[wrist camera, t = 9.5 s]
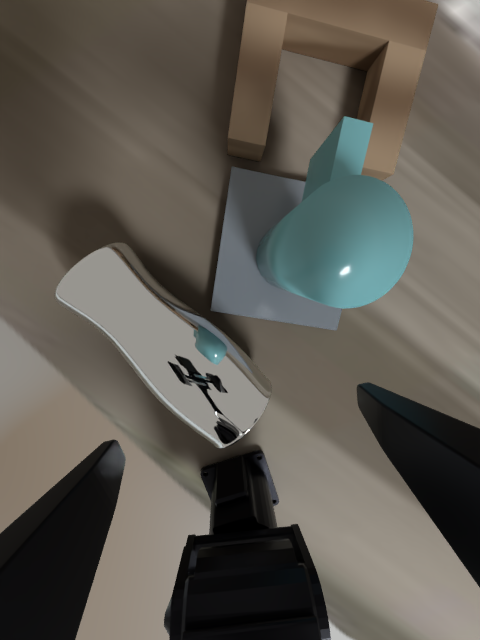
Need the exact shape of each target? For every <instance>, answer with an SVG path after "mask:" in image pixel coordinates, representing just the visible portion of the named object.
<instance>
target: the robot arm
mask: <svg viewBox="0 0 480 640" xmlns="http://www.w3.org/2000/svg"><path fill="white" fill-rule="evenodd" d="M357 400H358V406H359V409H360V411H361V413H362V414H363V416H364V418H365V420H366V421H367V423H368V425H369V427H370V428H371V430H372V432H373V434H374V436H375V437H376V439H377V441H378V443H379V444H380V446H381V448H382V449H383V451H384V452H385V454H386V455H387V457H388V458H389V460H390V461H391V462H392V464H393V465H394V467H395V468H396V469H397V471H398V472H399V474H400V475H401V477H402V478H403V479H404V481H405V482H406V484H407V485H408V486H409V488H410V489H411V491H412V492H413V494H414V495H415V496H416V498H417V499H418V501H419V502H420V504H421V505H422V506H423V508H424V509H425V511H426V512H427V513H428V515H429V516H430V518H431V519H432V521H433V522H434V523H435V525H436V526H437V528H438V529H439V530H440V532H441V533H442V535H443V536H444V538H445V539H446V540H447V542H448V543H449V545H450V546H451V547H452V549H453V550H454V552H455V553H456V555H457V556H458V557H459V559H460V560H461V562H462V563H463V564H464V566H465V567H466V569H467V570H468V572H469V573H470V574H471V576H472V577H473V579H474V580H475V582H476V583H477V584H478V586H479V587H480V429H479V428H477V427H475V426H472V425H470V424H467V423H465V422H463V421H460V420H458V419H455V418H453V417H451V416H448V415H446V414H443V413H441V412H439V411H436V410H434V409H432V408H429V407H427V406H424V405H422V404H420V403H417V402H415V401H412V400H410V399H408V398H405V397H403V396H400V395H398V394H396V393H393V392H391V391H389V390H386V389H384V388H381V387H379V386H377V385H374V384H372V383H369V382H367V383H363V384H359V385H357ZM257 456H260V457H257ZM124 466H125V455H124V453H123V451H122V449H121V447H120V445H119V443H118V441H116V440H110V441H106V442H103V443H102V444H101V445H100V446H99V447H98V448H97V449H95V450H94V451H93V452H92V453H91V454H90V455H89V456H87V457H86V458H85V459H84V460H83V461H82V462H81V463H80V464H78V465H77V466H76V467H75V468H74V469H73V470H72V471H70V472H69V473H68V474H67V475H66V476H65V477H64V478H63V479H61V480H60V481H59V482H58V483H57V484H56V485H55V486H53V487H52V488H51V489H50V490H49V491H48V492H47V493H46V494H44V495H43V496H42V497H41V498H40V499H39V500H38V501H37V502H35V504H33V505H32V506H31V507H30V508H29V509H28V510H26V511H25V512H24V513H23V514H22V515H21V516H20V517H18V518H17V519H16V520H15V521H14V522H13V523H12V524H10V525H9V526H8V527H7V528H6V529H5V530H4V531H3V532H2V533H1V534H0V640H75V638H76V635H77V632H78V628H79V625H80V622H81V619H82V615H83V612H84V609H85V606H86V603H87V599H88V596H89V592H90V590H91V586H92V583H93V580H94V576H95V573H96V570H97V566H98V564H99V560H100V557H101V554H102V551H103V547H104V544H105V541H106V538H107V534H108V531H109V528H110V525H111V521H112V518H113V515H114V511H115V507H116V503H117V499H118V494H119V490H120V485H121V480H122V476H123V470H124ZM204 472H207V473H204ZM201 478H202V480H203V483H204V485H205V487H206V490H207V492H208V495H209V497H210V500H211V514H210V529H209V530H210V531H209V535H200V536H196V535H188V538H187V543H186V546H185V547H184V549H183V553H182V557H181V561H180V565H179V570H178V573H177V578H176V581H175V586H174V590H173V594H172V597H171V600H170V602H169V605H168V607H167V610H166V612H165V619H164V627H165V628H166V630H167V632H168V634H169V636H170V640H331V637H330V629H329V622H328V616H327V610H326V605H325V601H324V596H323V592H322V588H321V584H320V581H319V578H318V574H317V571H316V569H315V566H314V563H313V561H312V558H311V556H310V553H309V551H308V548H307V546H306V543H305V541H304V538H303V536H302V533H301V531H300V528H299V526H298V524H293V525H291V526H288V527H277V522H276V517H275V513H274V508H273V506H275V505H277V504H278V503H279V499H278V495H277V492H276V489H275V486H274V483H273V480H272V477H271V474H270V471H269V468H268V465H267V462H266V459H265V456H264V453H263V452H262V451H260V450H259V451H255V452H251V453H248V454H245V455H242V456H238V457H235V458H232V459H229V460H225V461H222V462H219V463H216V464H212V465H209V466H206V467H203V468H202V469H201Z"/></svg>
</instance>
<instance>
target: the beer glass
mask: <svg viewBox="0 0 480 640" xmlns="http://www.w3.org/2000/svg"><path fill="white" fill-rule="evenodd" d="M54 297H55V300H56V302H57V303H58V304H59V305H61V306H62V307H63V308H65V309H67V310H68V311H70V312H71V313H73V314H75V315H76V316H78V317H80V318H81V319H83V320H84V321H86V322H87V323H89V324H90V325H92V326H93V327H95V328H96V329H97V330H98V331H99V332H101V333H102V334H103V335H104V336H105V337H106V338H107V339H108V340H109V341H110V342H111V343H112V344H113V345H114V346H115V347H116V349H117V350H118V351H119V352H120V354H121V355H122V356H123V357H124V359H125V360H126V361H127V362H128V364H129V365H130V366H131V368H132V369H133V370H134V371H135V373H136V374H137V375H138V377H139V378H140V379H141V380H142V382H143V383H144V384H145V385H146V387H147V388H148V389H149V390H150V391H151V392H152V393H153V395H154V396H155V397H156V398H157V399H158V400H159V401H160V402H161V403H162V404H163V405H164V406H165V407H166V408H167V409H168V410H169V411H170V412H171V413H172V414H174V415H175V416H176V417H177V418H178V419H180V420H181V421H182V422H183V423H185V424H186V425H187V426H189V427H190V428H191V429H193V430H194V431H195V432H197V433H198V434H199V435H201V436H202V437H204V438H205V439H207V440H208V441H209V442H211V443H212V444H213V445H214V446H215V447H217V448H225V447H228V446H230V445H232V444H234V443H236V442H237V441H238V440H240V439H241V438H242V437H243V436H244V435H245V434H247V433H248V432H249V430H250V429H251V428H252V427H253V426H254V425H255V424H256V422H257V421H258V420H259V418H260V417H261V415H262V414H263V412H264V410H265V408H266V406H267V404H268V402H269V400H270V396H271V392H272V384H271V382H270V380H269V379H268V378H267V377H266V376H265V375H264V374H263V373H262V372H261V370H260V369H259V368H258V367H257V366H256V364H255V363H254V362H253V361H252V360H251V359H250V358H249V356H248V355H247V354H246V353H245V352H244V351H243V350H242V349H241V348H240V347H239V346H238V345H237V344H236V343H235V342H234V341H233V340H232V339H231V338H230V337H229V336H228V335H227V334H226V333H224V332H223V331H222V330H221V329H219V328H218V327H217V326H216V325H214V324H213V323H212V322H210V321H209V320H208V319H206V318H205V317H203V316H202V315H201V314H199V313H198V312H196V311H195V310H193V309H192V308H191V307H189V306H188V305H186V304H185V303H183V302H182V301H180V300H179V299H178V298H176V297H175V296H174V295H172V294H171V293H170V292H168V291H167V290H166V289H165V288H164V287H163V286H162V285H160V284H159V283H158V282H157V281H156V280H155V278H154V277H153V276H152V275H151V274H150V273H149V272H148V270H147V269H146V268H145V266H144V265H143V264H142V262H141V261H140V259H139V258H138V257H137V255H136V254H135V252H134V251H133V250H132V249H131V248H130V246H129V245H127V244H125V243H122V242H116V243H111V244H108V245H105V246H103V247H100V248H98V249H97V250H95V251H93V252H91V253H90V254H88V255H87V256H85V257H84V258H83V259H81V260H80V261H79V262H77V263H76V264H75V265H74V266H73V267H72V268H71V269H70V270H69V271H68V272H67V273H66V274H65V275H64V276H63V278H62V279H61V280H60V282H59V284H58V285H57V287H56V290H55V295H54Z"/></svg>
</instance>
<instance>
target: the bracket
mask: <svg viewBox="0 0 480 640" xmlns="http://www.w3.org/2000/svg"><path fill="white" fill-rule="evenodd" d="M437 8H438V4H435V3H432V2H428V1H425V0H247V4H246V11H245V18H244V25H243V32H242V39H241V46H240V53H239V61H238V68H237V75H236V82H235V89H234V96H233V103H232V110H231V117H230V124H229V132H228V148H227V155H231V156H236V157H241V158H245V159H250V160H255V161H259V162H260V161H261V158H262V155H263V152H264V149H265V145H266V139H267V133H268V127H269V121H270V115H271V110H272V104H273V98H274V92H275V86H276V80H277V74H278V68H279V62H280V56H281V50H282V49H283V50H287V51H291V52H294V53H298V54H302V55H306V56H310V57H314V58H318V59H322V60H326V61H329V62H333V63H337V64H341V65H345V66H349V67H353V68H357V69H360V70H364V71H367V75H366V80H365V84H364V88H363V93H362V97H361V101H360V106H359V110H358V115H357V119H358V120H362V121H366V122H370V123H373V127H372V131H371V135H370V140H369V144H368V148H367V152H366V156H365V160H364V164H363V168H362V172H361V175H365V176H370V177H374V178H377V179H379V180H381V181H382V180H384V179H386V178H387V177H389V176H391V175H393V174H394V170H395V166H396V163H397V159H398V155H399V151H400V147H401V144H402V140H403V136H404V132H405V129H406V125H407V121H408V117H409V113H410V110H411V106H412V102H413V98H414V95H415V91H416V87H417V83H418V79H419V76H420V72H421V68H422V64H423V60H424V57H425V53H426V49H427V45H428V42H429V38H430V34H431V30H432V26H433V23H434V19H435V15H436V11H437Z"/></svg>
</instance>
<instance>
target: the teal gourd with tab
mask: <svg viewBox="0 0 480 640" xmlns="http://www.w3.org/2000/svg"><path fill="white" fill-rule="evenodd" d="M372 127H373V123H370V122H366V121H362V120H358V119H354V118H350V117H346V116H344V117H343V118H342V120H341V121H340V122H339V123H338V125H337V126H336V127H335V129H334V130H333V131H332V132H331V134H330V135H329V136H328V137H327V139H326V140H325V141H324V143H323V144H322V145H321V146H320V148H319V149H318V150H317V151H316V153H315V154H314V155H313V157H312V158H311V159H310V163H309V168H308V173H307V178H306V183H305V187H304V192H303V197H302V202H301V203H300V204H299V205H298V206H297V207H295V208H294V209H293V210H292V211H291V212H290V213H288V214H287V215H286V216H285V217H284V218H283V219H281V220H280V221H279V222H278V223H277V224H276V225H274V226H273V227H272V228H271V229H270V230H269V231H268V232H266V234H265V235H264V236H263V237H262V239H261V241H260V242H259V245H258V248H257V253H256V262H257V267H258V270H259V272H260V274H261V276H262V277H263V278H264V279H265V280H266V281H267V282H268V283H269V284H270V285H272V286H274V287H276V288H279V289H282V290H285V291H288V292H291V293H293V294H296V295H299V296H302V297H305V298H308V299H310V300H313V301H316V302H319V303H322V304H325V305H328V306H331V307H335V308H355V307H360V306H363V305H367V304H369V303H371V302H373V301H375V300H377V299H379V298H380V297H382V296H383V295H384V294H386V293H387V292H388V291H389V290H390V289H391V288H392V287H393V286H394V285H395V284H396V283H397V281H398V280H399V279H400V277H401V276H402V274H403V272H404V270H405V268H406V266H407V264H408V261H409V259H410V256H411V251H412V246H413V226H412V220H411V216H410V213H409V211H408V208H407V206H406V204H405V203H404V201H403V199H402V198H401V197H400V195H399V194H398V193H397V192H396V191H395V190H394V189H393V188H392V187H391V186H389V185H388V184H386V183H385V182H383V181H381V180H379V179H377V178H374V177H370V176H365V175H361V172H362V168H363V164H364V160H365V156H366V152H367V148H368V144H369V140H370V135H371V131H372Z"/></svg>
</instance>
